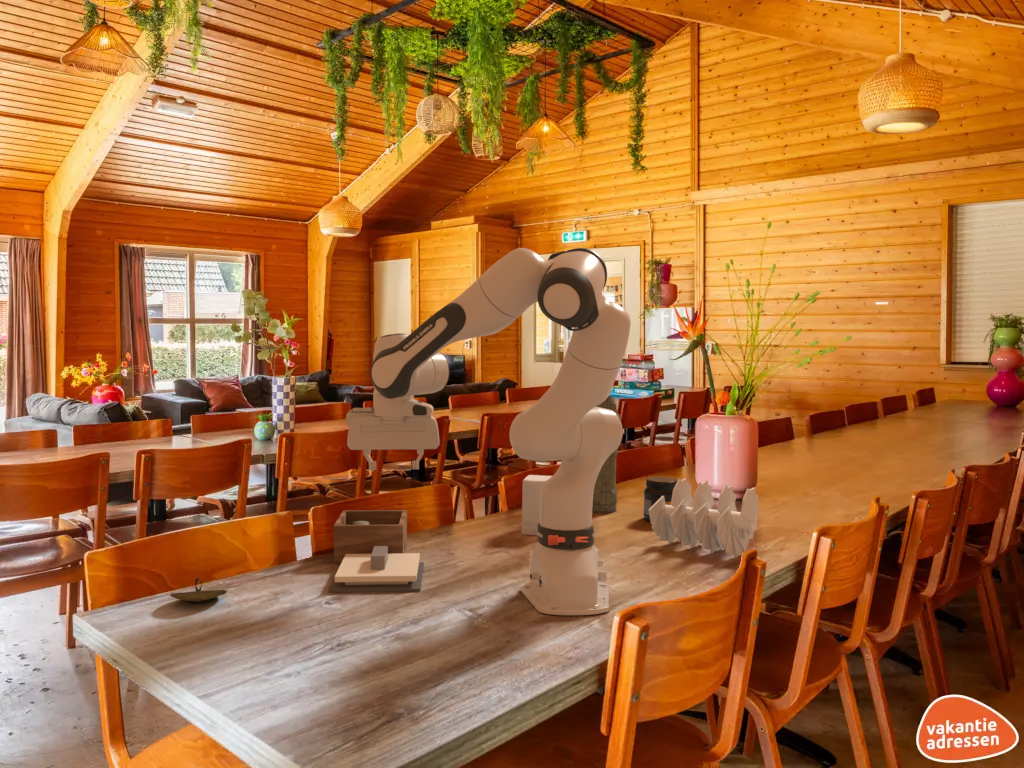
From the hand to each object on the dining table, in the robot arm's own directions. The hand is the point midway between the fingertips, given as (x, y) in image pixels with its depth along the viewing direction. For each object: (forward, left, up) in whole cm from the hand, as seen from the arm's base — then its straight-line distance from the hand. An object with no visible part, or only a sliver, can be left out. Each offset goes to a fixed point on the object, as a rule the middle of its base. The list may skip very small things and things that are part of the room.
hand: (394, 469), depth 177 cm
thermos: (+63, -59, -24) cm, 89 cm away
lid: (-17, +37, -24) cm, 48 cm away
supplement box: (+37, -37, -24) cm, 57 cm away
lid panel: (-2, +3, -23) cm, 23 cm away
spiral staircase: (+18, -77, -24) cm, 82 cm away
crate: (+17, +7, -24) cm, 30 cm away
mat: (-2, +3, -24) cm, 24 cm away
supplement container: (+50, -74, -24) cm, 92 cm away
